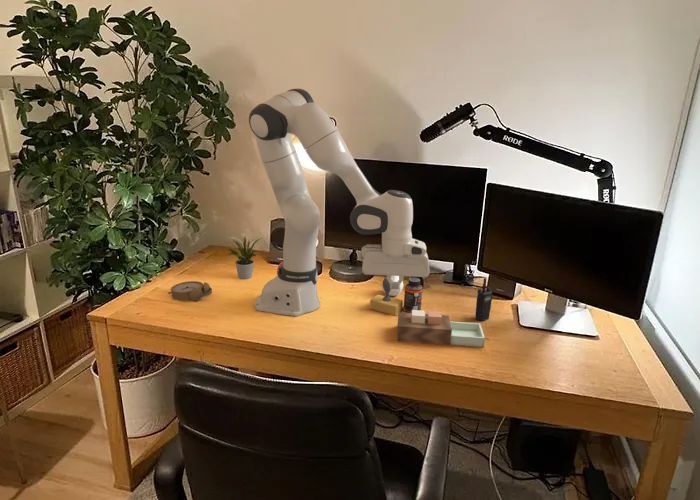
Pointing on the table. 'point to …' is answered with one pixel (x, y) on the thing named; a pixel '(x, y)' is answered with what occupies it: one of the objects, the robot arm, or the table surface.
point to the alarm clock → (190, 291)
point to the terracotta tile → (434, 317)
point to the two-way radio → (483, 303)
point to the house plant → (244, 259)
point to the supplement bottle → (413, 295)
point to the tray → (467, 334)
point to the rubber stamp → (386, 301)
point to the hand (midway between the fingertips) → (394, 288)
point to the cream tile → (418, 316)
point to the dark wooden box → (423, 330)
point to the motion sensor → (395, 291)
